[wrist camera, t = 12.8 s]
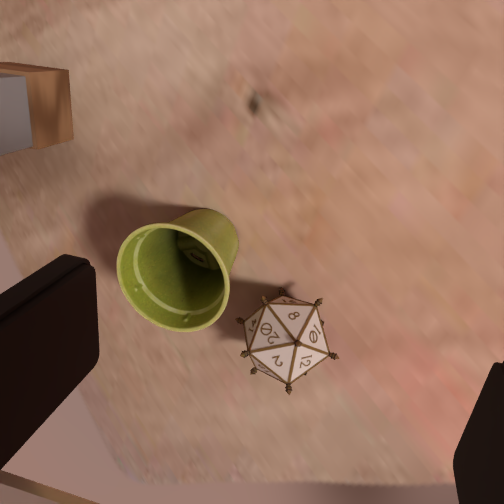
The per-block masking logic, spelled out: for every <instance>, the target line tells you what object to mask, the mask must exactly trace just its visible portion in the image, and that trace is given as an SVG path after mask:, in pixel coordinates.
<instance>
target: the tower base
mask: <svg viewBox="0 0 504 504" xmlns="http://www.w3.org/2000/svg"><path fill="white" fill-rule="evenodd" d="M0 73H7V74H14V75H21V76H25V78H26V87H27V96H28V105H29V115H30V124H31V133H32V142H33V147H29V148H32V149H41V148H44V147H48V146H51V145H55V144H58V143H62V142H65V141H69V140H72V139H74V137H73V124H72V110H71V97H70V83H69V70H65V69H57V68H50V67H42V66H35V65H27V64H20V63H12V62H0Z"/></svg>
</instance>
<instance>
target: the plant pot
mask: <svg viewBox="0 0 504 504" xmlns="http://www.w3.org/2000/svg"><path fill="white" fill-rule="evenodd" d="M238 246H239V242H238V237H237V234H236V231H235V228H234V226H233V224H232V223H231V222H230V221H229V220H228V219H227V218H226V217H225V216H224V215H222V214H220V213H219V212H217V211H214V210H211V209H199V210H194V211H191V212H189V213H187V214H185V215H183V216H181V217H179V218H177V219H175V220H173V221H171V222H168V223H152V224H148V225H145V226H143V227H140V228H138V229H137V230H135V231H134V232H132V233H131V234H130V235H129V236H128V237H127V238H126V239H125V241H124V242H123V243H122V245H121V247H120V250H119V253H118V256H117V264H116V266H117V277H118V281H119V284H120V287H121V289H122V292H123V294H124V295H125V297H126V299H127V300H128V301H129V302H130V304H131V305H132V306H133V308H134V309H135V310H136V311H137V312H138V313H139V314H140V315H141V316H143V317H144V318H145V319H147V320H149V321H150V322H151V323H153V324H155V325H157V326H159V327H162V328H165V329H167V330H171V331H176V332H193V331H197V330H201V329H204V328H206V327H208V326H210V325H211V324H213V323H214V322H215V321H216V320H217V319H218V318H219V317H220V316H221V314H222V313H223V311H224V309H225V307H226V305H227V302H228V298H229V293H230V281H229V274H230V271H231V268H232V265H233V263H234V260H235V257H236V254H237V251H238ZM191 253H194V254H195V255H196V256H198V257H199V258H201V259H203V260H204V261H203V262H201V261H199V260H197V259H195V258H194V257H193V256H192V255H191Z"/></svg>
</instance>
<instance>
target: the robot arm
mask: <svg viewBox="0 0 504 504" xmlns="http://www.w3.org/2000/svg"><path fill="white" fill-rule="evenodd" d="M98 358H99V333H98V313H97V292H96V273H95V269H94V267H93V266H91V265H90V262H89V260H87V259H85V258H81V257H76V256H72V255H68V254H63V255H61V256H59V257H58V258H56V259H55V260H53V261H52V262H50V263H48V264H47V265H45V266H44V267H42V268H41V269H39V270H38V271H36V272H34V273H33V274H31V275H30V276H28V277H27V278H25V279H23V280H22V281H20V282H19V283H17V284H16V285H14V286H13V287H11V288H9V289H8V290H6V291H5V292H3V293H2V294H0V504H99V503H96V502H93V501H90V500H87V499H84V498H81V497H78V496H75V495H72V494H70V493H67V492H64V491H61V490H58V489H55V488H52V487H49V486H46V485H43V484H40V483H37V482H34V481H31V480H28V479H25V478H23V477H19V476H17V475H13V474H11V473H8V472H5V471H2V470H1V469H2V468H3V466H4V465H5V464H6V463H7V462H8V461H9V460H10V459H11V458H12V457H13V456H14V454H15V453H16V452H17V451H18V450H19V449H20V448H21V447H22V446H23V445H24V444H25V442H26V441H27V440H28V439H29V438H30V437H31V436H32V435H33V434H34V432H35V431H36V430H37V429H38V428H39V427H40V426H41V425H42V424H43V423H44V422H45V420H46V419H47V418H48V417H49V416H50V415H51V414H52V413H53V412H54V411H55V409H56V408H57V407H58V406H59V405H60V404H61V403H62V402H63V401H64V399H65V398H66V397H67V396H68V395H69V394H70V393H71V392H72V391H73V390H74V389H75V388H76V386H77V385H78V384H79V383H80V382H81V381H82V380H83V379H84V378H85V377H86V375H87V374H88V373H89V372H90V371H91V370H92V369H93V368H94V366H95V365H96V363H97V361H98ZM453 470H454V476H455V482H456V488H457V494H458V499H459V504H504V361H503V363H498V362H496V363H494V364H493V366H492V368H491V370H490V372H489V374H488V377H487V379H486V381H485V384H484V386H483V388H482V391H481V393H480V395H479V397H478V400H477V402H476V404H475V407H474V409H473V411H472V414H471V416H470V418H469V421H468V423H467V425H466V427H465V430H464V432H463V434H462V437H461V439H460V441H459V444H458V446H457V448H456V451H455V454H454V459H453Z"/></svg>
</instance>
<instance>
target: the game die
mask: <svg viewBox="0 0 504 504" xmlns="http://www.w3.org/2000/svg"><path fill="white" fill-rule="evenodd" d="M279 292H280V295H281V296H279V297H277V298H275V299H273V300H271V301H269V302H268V300H267V298H266V297H264V296H262V297H261V301H262V303H264V305H262V306H261V307H260V308H259V309H258V310H256V311H255V312H254V313H253V314H252V315H251V316H249V317H248V318H247V319H246V320H243V319H241V318H240V317H239V318H237V319H236V321H237V322H238V323H240V324H243V325H244V332H245V338H246V345H247V351H245V350H244V351H242V353H241V355H240V356H241V357H244V358H245V357H247V356H248V355H249V356H250V358H251V360H252V362H253V364H254V366H255V368H252V369H251V370H250V371H251V373H250V375H251V374H255V373H256V372H257V370H260V371H262V372H263V373H265V374H267V375H269V376H271V377H273V378H275V379H277V380H279V381H281V382H283V383H285V384H286V387H285V388H286V390H285V391H286V392H287V393H288V394H289V395H290V393H291V391H292V389H291V388H292V387H291V386H290V385H291V383H293V382H294V381H296V380H297V379H298V378H300V377H301V376H302V375H306V374H307V372H308V371H309V370H311V369H312V368H313V367H315V366H316V365H317V364H319V363H320V362H322V361H323V360H324V359H326V358H327V357H328V356H329V357H331V359H332V358H333V359H334V360H335V359H339V357H338V356H337V353H336V354H335V353H330V351H329V347H328V344H327V340H326V337H325V333H324V330H323V324H324V322H323V321H322V320H321V319H320V315H319V312H318V308H317V306H319V305H320V304H322V299H323V298H321V299H317V301H315V304H311V303H308V302H304V301H301V300H297V299H294V298H290V297H287V296H284V294H285V290H283V288H282V287H281V289H280V290H279Z"/></svg>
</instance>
